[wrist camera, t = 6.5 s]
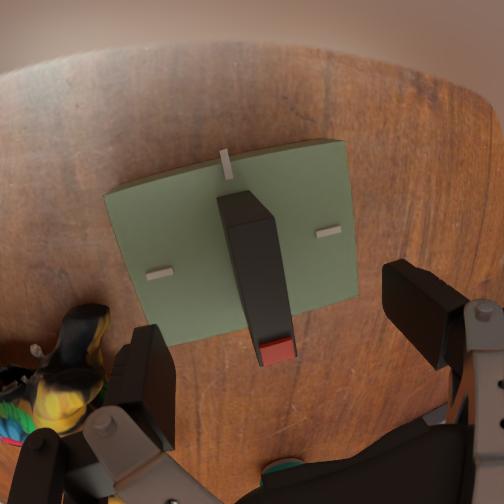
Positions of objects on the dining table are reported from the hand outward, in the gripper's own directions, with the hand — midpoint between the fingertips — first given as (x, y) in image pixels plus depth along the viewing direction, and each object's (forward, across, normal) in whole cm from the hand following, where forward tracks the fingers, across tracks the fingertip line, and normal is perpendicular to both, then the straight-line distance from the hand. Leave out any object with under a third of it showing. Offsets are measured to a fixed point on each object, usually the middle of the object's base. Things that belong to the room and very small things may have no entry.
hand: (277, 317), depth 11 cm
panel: (+9, 0, 0) cm, 9 cm away
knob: (+6, 0, 0) cm, 6 cm away
